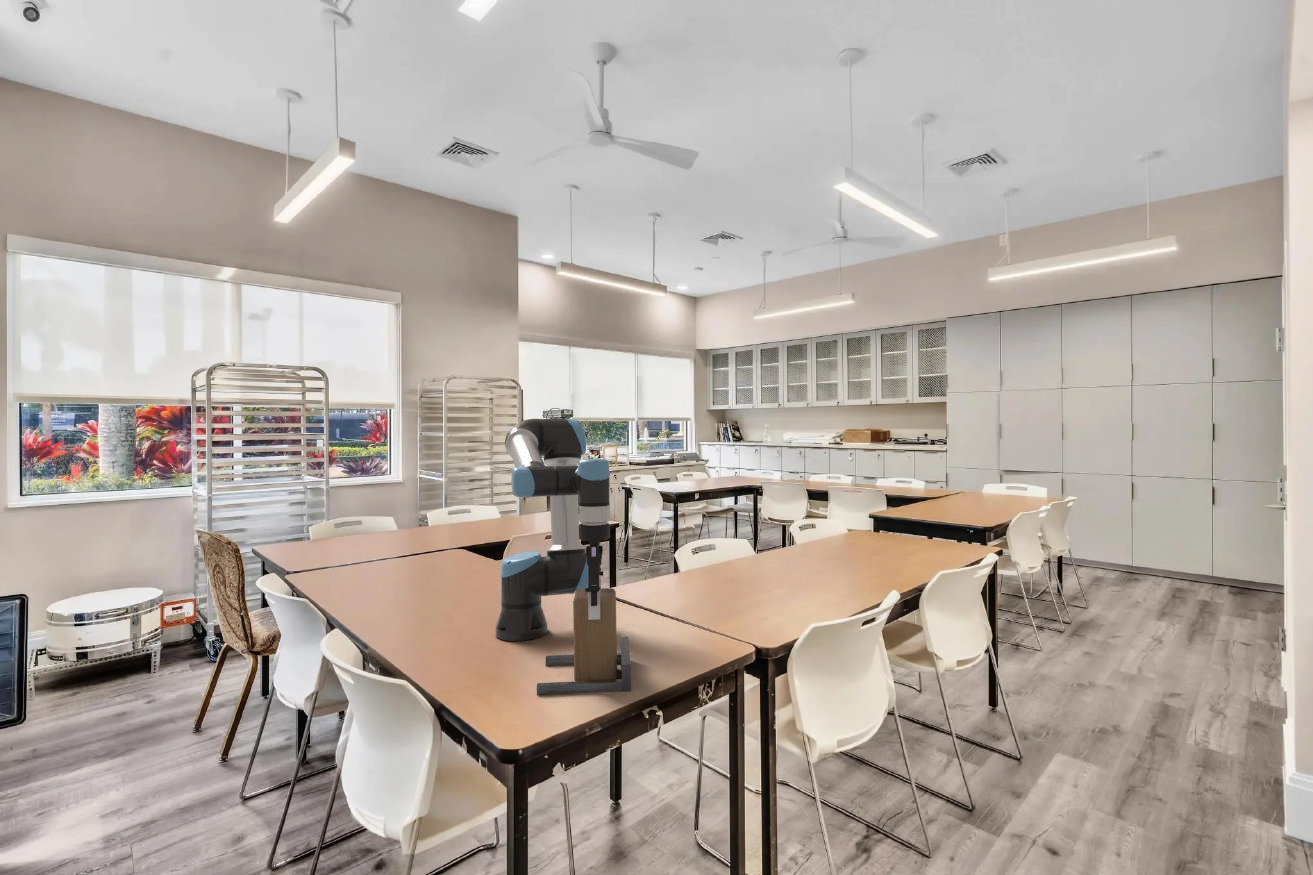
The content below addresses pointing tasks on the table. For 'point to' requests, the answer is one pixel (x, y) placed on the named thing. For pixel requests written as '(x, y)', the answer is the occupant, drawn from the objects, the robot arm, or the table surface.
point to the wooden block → (595, 638)
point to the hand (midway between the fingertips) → (595, 610)
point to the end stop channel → (589, 686)
